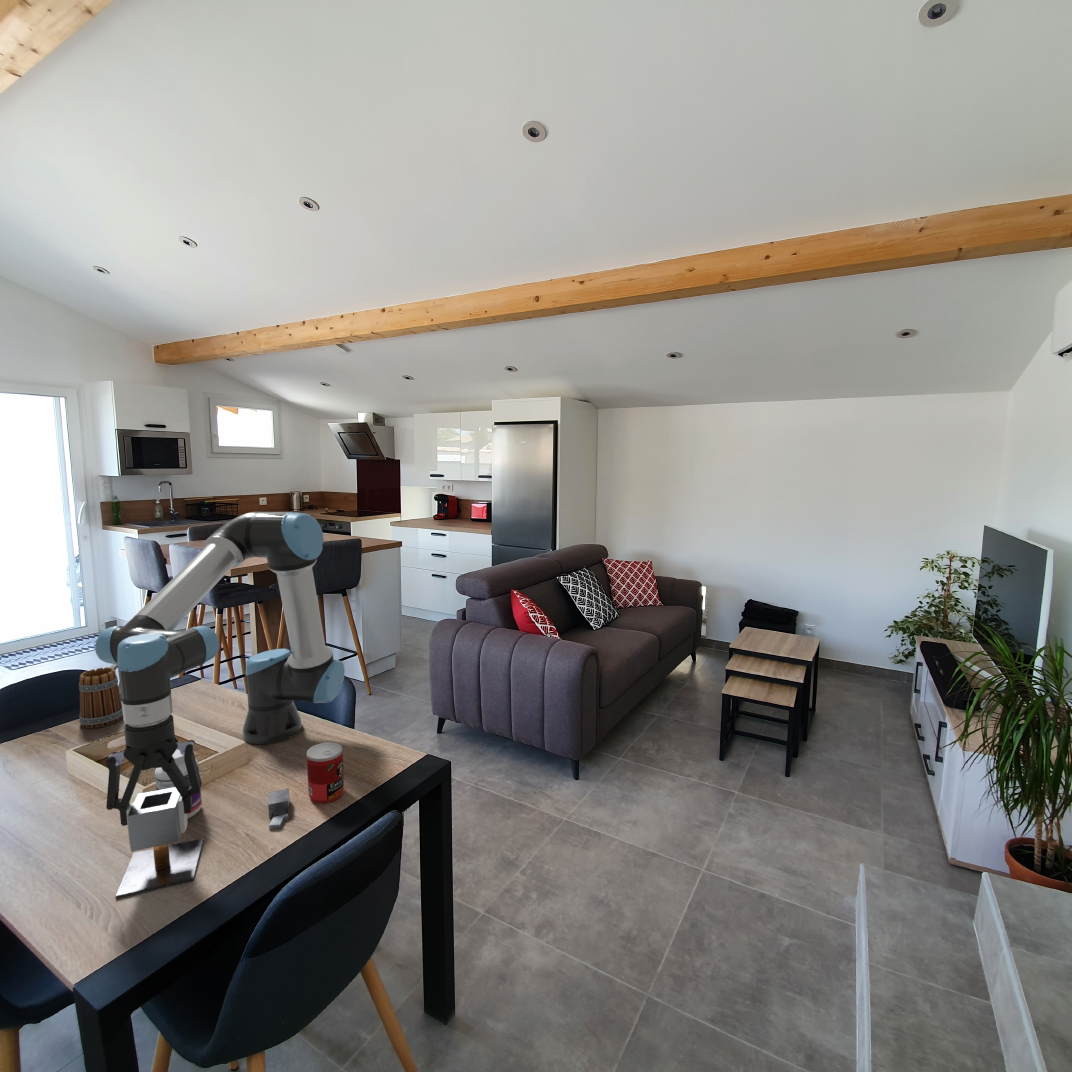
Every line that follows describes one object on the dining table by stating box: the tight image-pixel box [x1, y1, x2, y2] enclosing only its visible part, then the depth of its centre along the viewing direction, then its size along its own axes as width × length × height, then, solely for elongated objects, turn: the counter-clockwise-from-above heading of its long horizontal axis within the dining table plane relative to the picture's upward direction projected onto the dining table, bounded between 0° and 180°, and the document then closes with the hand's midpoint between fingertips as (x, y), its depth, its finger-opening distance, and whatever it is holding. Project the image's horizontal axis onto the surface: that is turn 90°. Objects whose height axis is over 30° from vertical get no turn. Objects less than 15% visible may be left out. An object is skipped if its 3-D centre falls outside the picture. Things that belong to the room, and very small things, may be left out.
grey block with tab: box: [267, 788, 290, 830], centre depth 126 cm, size 10×4×3 cm, turn 22°
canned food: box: [305, 741, 345, 804], centre depth 133 cm, size 8×8×11 cm
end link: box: [127, 787, 182, 853], centre depth 108 cm, size 7×7×7 cm
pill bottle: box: [154, 749, 203, 820], centre depth 125 cm, size 8×8×14 cm
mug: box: [78, 664, 123, 729], centre depth 171 cm, size 16×11×15 cm
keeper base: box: [115, 837, 204, 900], centre depth 109 cm, size 12×12×9 cm
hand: (159, 833), depth 109 cm, fingers closed on end link, 7 cm apart
